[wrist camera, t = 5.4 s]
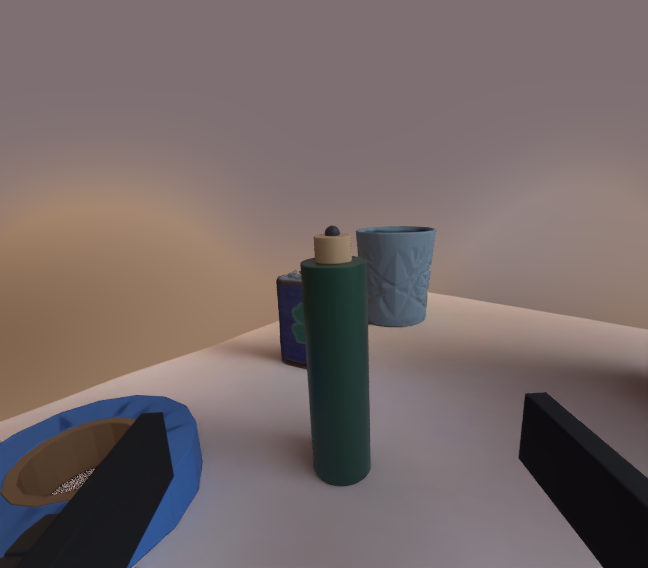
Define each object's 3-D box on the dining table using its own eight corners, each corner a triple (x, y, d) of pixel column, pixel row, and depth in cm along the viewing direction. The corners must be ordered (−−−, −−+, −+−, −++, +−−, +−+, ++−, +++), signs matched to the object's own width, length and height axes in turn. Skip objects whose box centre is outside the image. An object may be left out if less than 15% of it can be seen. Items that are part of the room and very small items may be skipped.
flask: (369, 362, 35) (367, 258, 32) (362, 377, 32) (358, 264, 30) (288, 352, 38) (280, 256, 36) (275, 364, 36) (265, 262, 33)
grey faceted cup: (343, 315, 49) (340, 230, 46) (391, 300, 55) (391, 224, 52) (399, 335, 41) (399, 234, 39) (448, 315, 47) (452, 226, 44)
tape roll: (175, 411, 28) (170, 378, 28) (229, 512, 19) (223, 466, 18) (-26, 484, 22) (-40, 443, 21) (-99, 698, 12) (-130, 637, 11)
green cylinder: (345, 436, 24) (337, 222, 21) (382, 466, 22) (380, 223, 18) (302, 460, 22) (285, 227, 19) (336, 496, 20) (324, 230, 16)
